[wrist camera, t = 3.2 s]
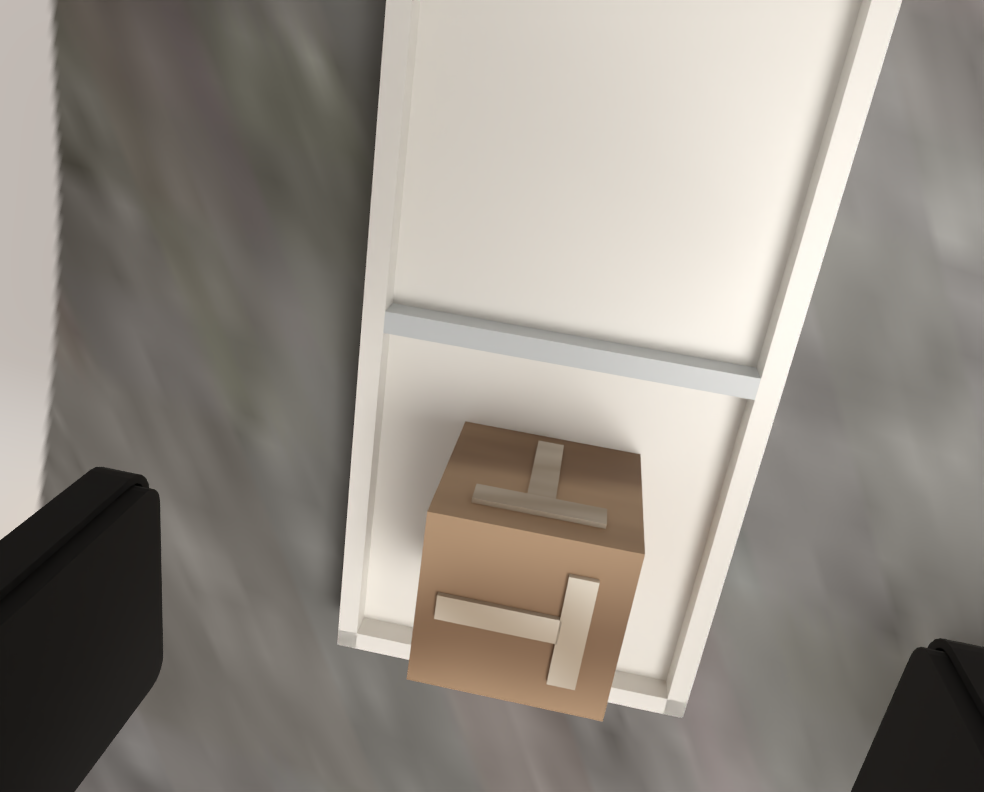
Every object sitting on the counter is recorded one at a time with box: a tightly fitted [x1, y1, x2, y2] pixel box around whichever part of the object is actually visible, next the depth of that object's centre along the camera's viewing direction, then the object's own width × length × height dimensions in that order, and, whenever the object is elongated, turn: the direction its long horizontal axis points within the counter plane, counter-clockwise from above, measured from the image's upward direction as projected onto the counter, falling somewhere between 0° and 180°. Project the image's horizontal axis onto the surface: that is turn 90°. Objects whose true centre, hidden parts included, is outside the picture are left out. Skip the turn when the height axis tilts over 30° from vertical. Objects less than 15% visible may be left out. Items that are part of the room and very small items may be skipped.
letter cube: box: [407, 421, 645, 721], centre depth 22 cm, size 5×5×5 cm
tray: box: [337, 0, 902, 718], centre depth 22 cm, size 22×11×2 cm, turn 172°
